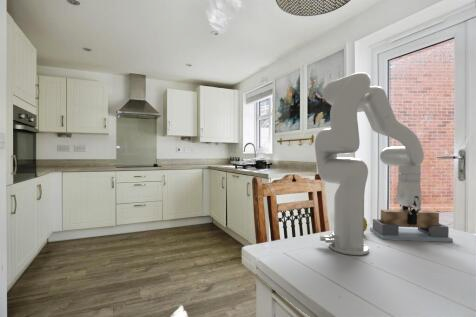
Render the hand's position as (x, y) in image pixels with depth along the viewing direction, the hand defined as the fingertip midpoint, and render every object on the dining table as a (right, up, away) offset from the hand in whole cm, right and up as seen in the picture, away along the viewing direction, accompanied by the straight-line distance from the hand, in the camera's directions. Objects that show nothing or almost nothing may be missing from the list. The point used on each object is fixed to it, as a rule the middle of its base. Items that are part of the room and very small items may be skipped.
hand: (408, 222), depth 102 cm
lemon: (-19, -5, +2) cm, 20 cm away
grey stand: (0, -5, 0) cm, 5 cm away
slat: (0, -1, 0) cm, 1 cm away
